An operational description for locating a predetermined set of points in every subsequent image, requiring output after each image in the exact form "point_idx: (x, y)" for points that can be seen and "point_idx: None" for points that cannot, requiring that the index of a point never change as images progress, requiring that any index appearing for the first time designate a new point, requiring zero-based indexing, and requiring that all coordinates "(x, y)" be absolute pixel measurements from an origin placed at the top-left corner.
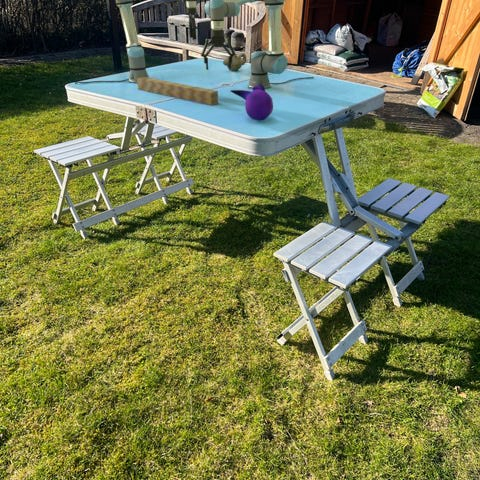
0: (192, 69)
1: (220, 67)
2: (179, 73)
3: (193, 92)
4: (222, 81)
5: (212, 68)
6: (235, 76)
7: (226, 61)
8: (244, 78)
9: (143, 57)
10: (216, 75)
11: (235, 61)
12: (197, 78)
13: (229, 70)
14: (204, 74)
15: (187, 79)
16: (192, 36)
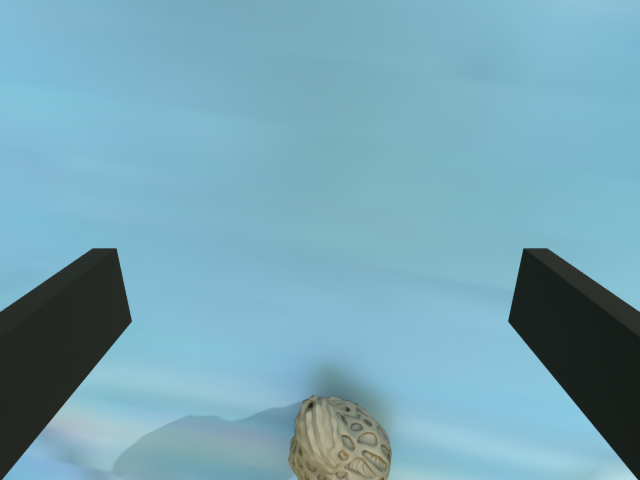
0: (550, 171)
1: (517, 372)
2: (414, 23)
3: None
4: (3, 292)
5: (508, 319)
6: (161, 390)
7: (299, 429)
8: (88, 419)
9: None
10: (225, 296)
11: (300, 478)
12: (138, 147)
13: (331, 397)
14: (289, 226)
15: (108, 56)
16: (78, 278)
